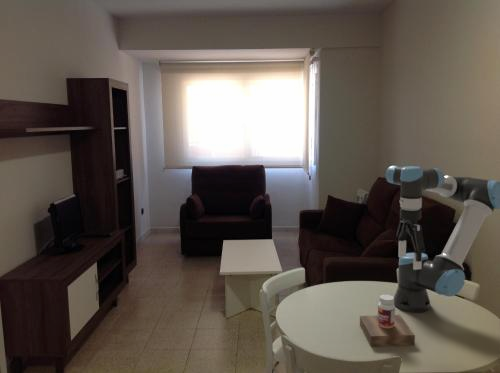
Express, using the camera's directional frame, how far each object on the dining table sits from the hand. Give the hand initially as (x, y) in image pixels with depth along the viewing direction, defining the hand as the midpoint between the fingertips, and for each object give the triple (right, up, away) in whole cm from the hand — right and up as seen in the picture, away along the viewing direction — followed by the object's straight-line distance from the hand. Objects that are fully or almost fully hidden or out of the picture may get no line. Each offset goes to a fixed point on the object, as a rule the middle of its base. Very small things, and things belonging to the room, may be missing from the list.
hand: (409, 262), depth 167 cm
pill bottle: (-9, -24, +1) cm, 26 cm away
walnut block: (-9, -28, +1) cm, 29 cm away
